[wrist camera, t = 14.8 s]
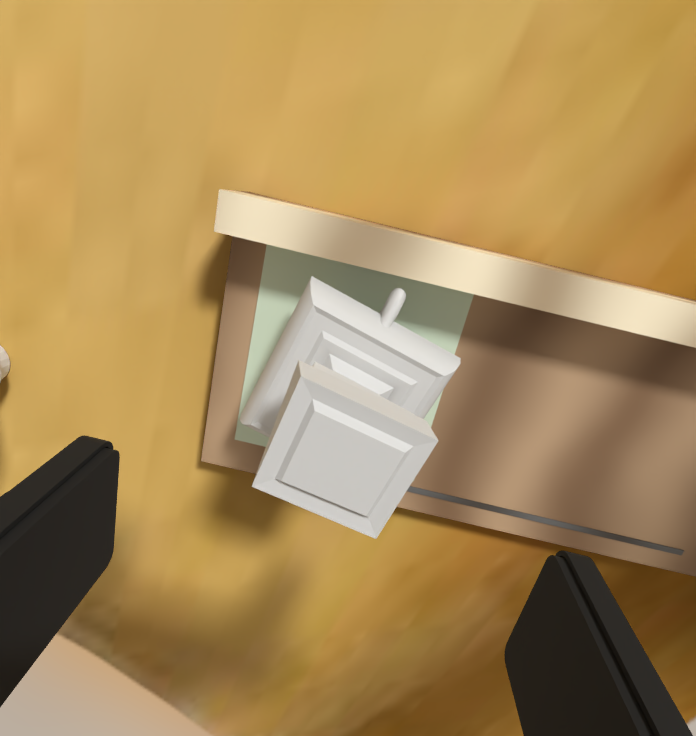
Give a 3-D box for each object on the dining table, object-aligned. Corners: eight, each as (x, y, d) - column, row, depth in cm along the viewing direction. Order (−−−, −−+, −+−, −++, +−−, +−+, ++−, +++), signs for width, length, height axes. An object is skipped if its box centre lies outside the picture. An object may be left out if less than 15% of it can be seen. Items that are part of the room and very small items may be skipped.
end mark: (474, 291, 20) (474, 291, 20) (413, 480, 23) (413, 481, 23) (267, 241, 20) (266, 241, 20) (235, 438, 23) (234, 439, 23)
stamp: (330, 241, 20) (297, 267, 12) (467, 316, 20) (523, 389, 12) (244, 413, 23) (171, 527, 15) (366, 474, 23) (360, 615, 15)
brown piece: (815, 329, 21) (910, 356, 17) (681, 556, 25) (734, 618, 22) (248, 191, 21) (219, 189, 17) (211, 446, 25) (181, 489, 21)
